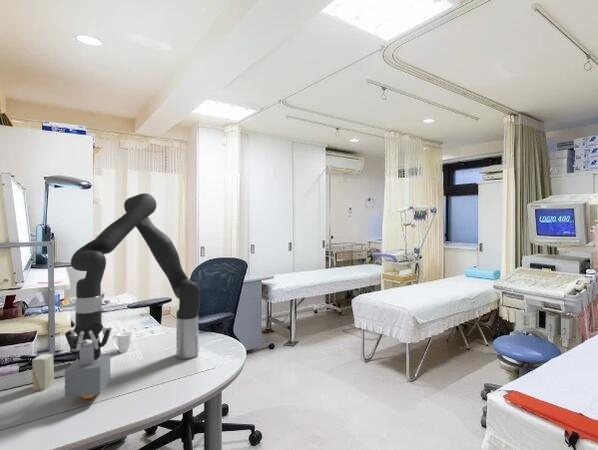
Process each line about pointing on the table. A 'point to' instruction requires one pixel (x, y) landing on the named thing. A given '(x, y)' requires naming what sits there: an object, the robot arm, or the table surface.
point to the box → (43, 371)
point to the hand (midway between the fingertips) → (88, 359)
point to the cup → (123, 341)
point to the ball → (87, 396)
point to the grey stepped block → (87, 373)
